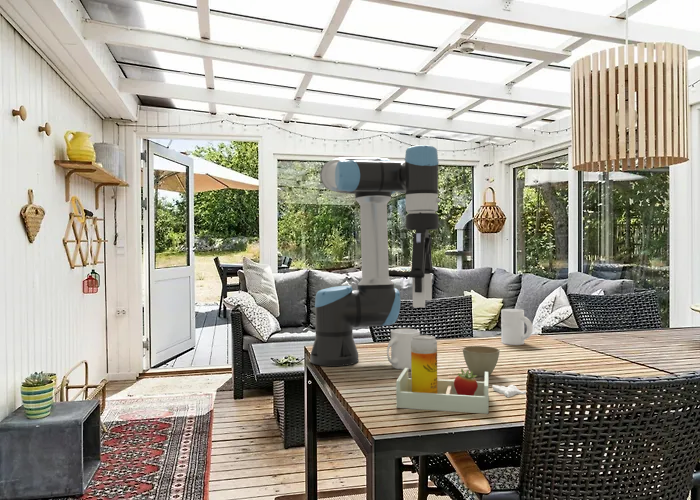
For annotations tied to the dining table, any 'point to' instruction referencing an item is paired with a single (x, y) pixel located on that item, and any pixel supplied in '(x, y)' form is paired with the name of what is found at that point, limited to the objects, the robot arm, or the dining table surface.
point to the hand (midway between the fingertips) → (422, 303)
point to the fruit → (465, 383)
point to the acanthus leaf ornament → (507, 390)
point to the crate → (441, 396)
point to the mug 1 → (401, 347)
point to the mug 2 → (514, 326)
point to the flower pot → (481, 359)
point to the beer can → (424, 364)
